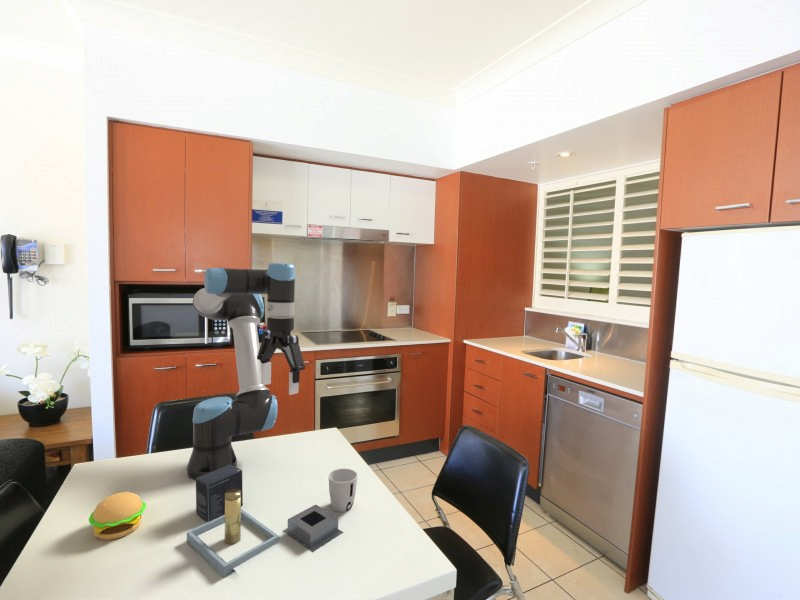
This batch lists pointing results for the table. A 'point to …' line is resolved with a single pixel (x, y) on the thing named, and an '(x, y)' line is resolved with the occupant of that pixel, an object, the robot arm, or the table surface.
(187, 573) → the table surface
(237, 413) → the robot arm
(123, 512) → the hamburger
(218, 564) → the tray
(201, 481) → the box
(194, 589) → the table surface
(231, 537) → the pin
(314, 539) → the block
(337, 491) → the cup
